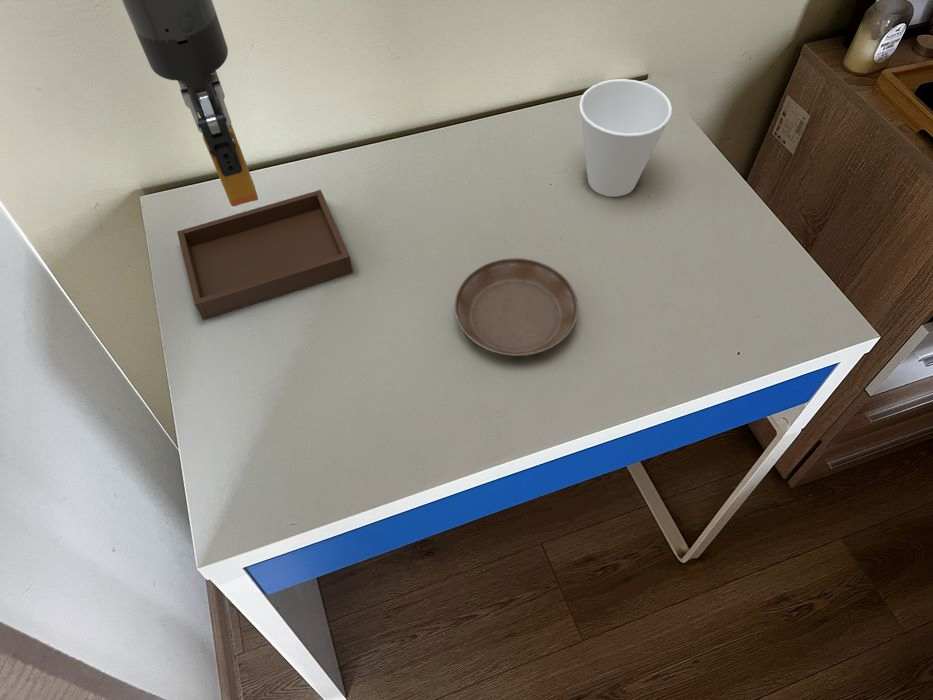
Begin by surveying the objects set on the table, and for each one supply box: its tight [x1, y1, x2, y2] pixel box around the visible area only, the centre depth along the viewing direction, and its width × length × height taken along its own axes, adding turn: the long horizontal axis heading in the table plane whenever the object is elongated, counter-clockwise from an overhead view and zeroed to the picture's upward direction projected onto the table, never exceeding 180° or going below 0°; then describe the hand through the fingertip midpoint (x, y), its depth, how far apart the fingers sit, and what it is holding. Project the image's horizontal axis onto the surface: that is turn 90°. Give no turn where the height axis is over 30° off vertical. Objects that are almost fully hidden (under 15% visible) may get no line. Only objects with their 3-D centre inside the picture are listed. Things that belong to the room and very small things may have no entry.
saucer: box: [454, 257, 579, 357], centre depth 85 cm, size 15×15×3 cm
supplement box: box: [201, 124, 259, 207], centre depth 79 cm, size 3×3×10 cm
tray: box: [176, 189, 354, 321], centre depth 92 cm, size 20×14×3 cm
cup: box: [578, 78, 673, 198], centre depth 95 cm, size 12×12×12 cm
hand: (229, 161), depth 79 cm, fingers closed on supplement box, 3 cm apart
